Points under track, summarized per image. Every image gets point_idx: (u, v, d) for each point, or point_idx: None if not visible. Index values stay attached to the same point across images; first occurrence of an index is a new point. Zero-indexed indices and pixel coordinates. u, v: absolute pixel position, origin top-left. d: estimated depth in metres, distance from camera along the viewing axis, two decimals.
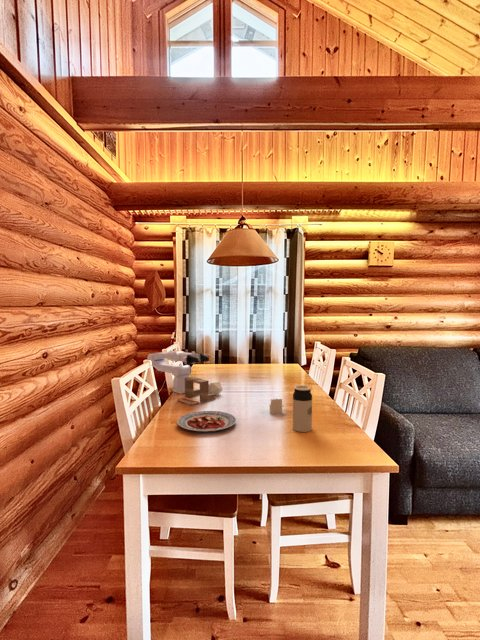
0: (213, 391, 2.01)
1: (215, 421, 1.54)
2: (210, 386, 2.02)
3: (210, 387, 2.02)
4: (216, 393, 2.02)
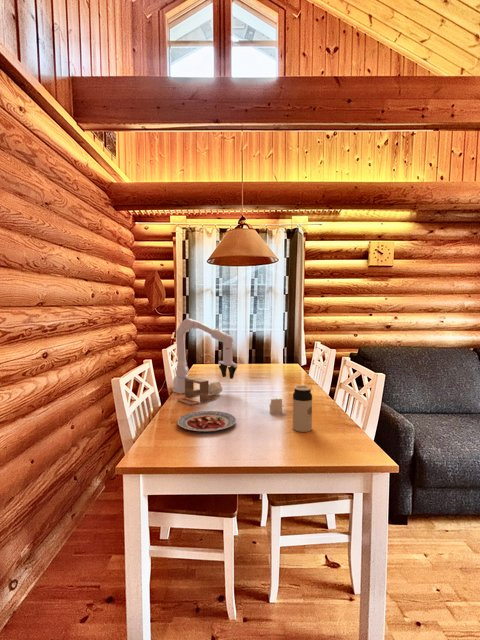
0: (213, 391, 2.01)
1: (215, 421, 1.54)
2: (210, 386, 2.02)
3: (210, 387, 2.02)
4: (216, 393, 2.02)
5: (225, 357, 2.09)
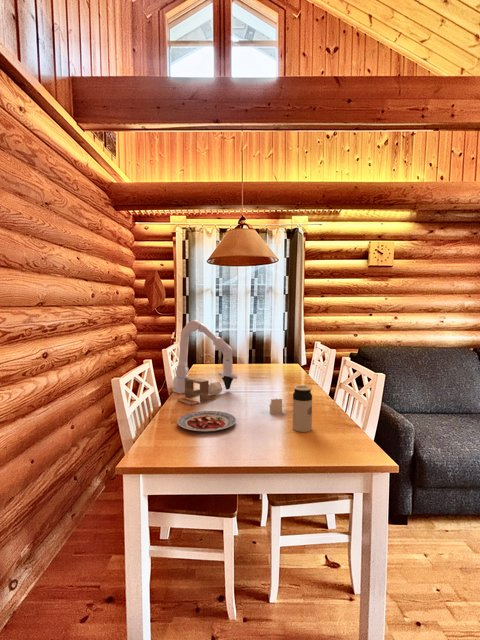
0: (213, 391, 2.01)
1: (215, 421, 1.54)
2: (210, 386, 2.02)
3: (210, 387, 2.02)
4: (216, 393, 2.02)
5: (225, 368, 2.09)
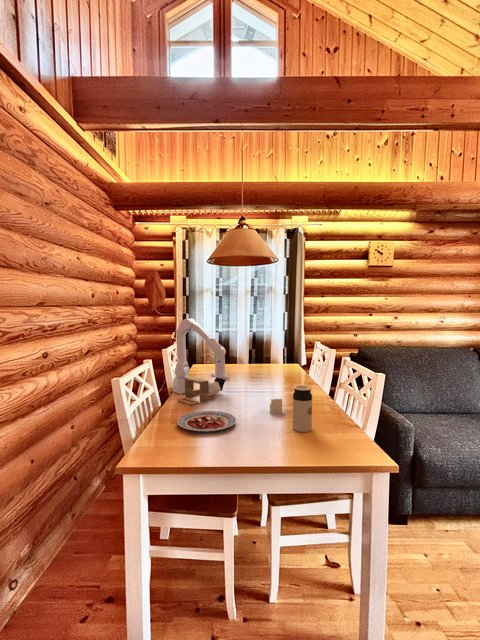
0: (212, 391, 2.00)
1: (215, 421, 1.54)
2: None
3: (209, 387, 2.01)
4: (215, 393, 2.01)
5: (217, 370, 2.05)
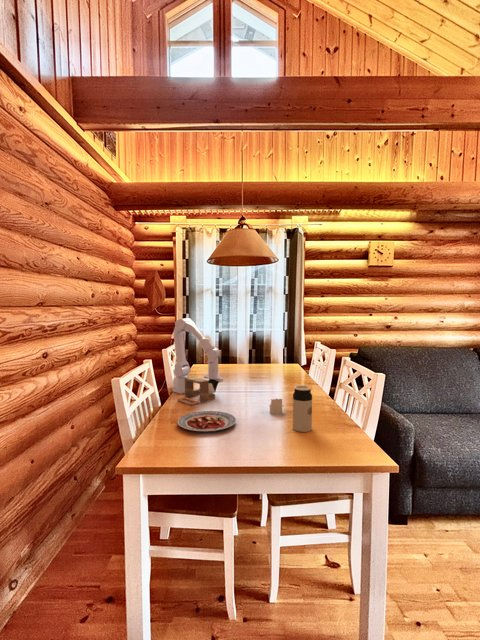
0: None
1: (215, 421, 1.54)
2: None
3: None
4: None
5: (210, 371, 2.01)
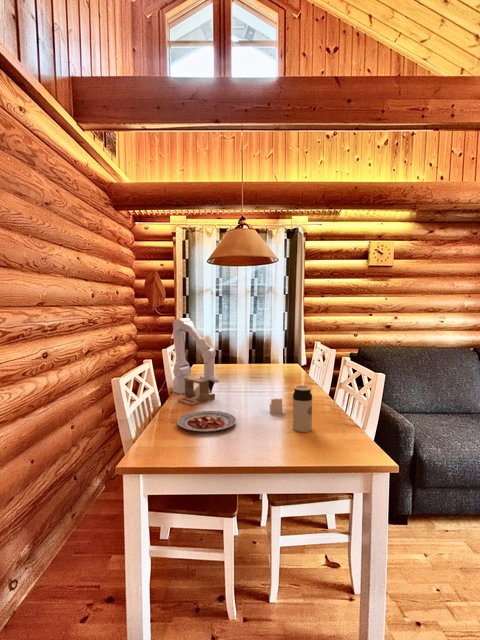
0: None
1: (215, 421, 1.54)
2: (198, 389, 1.95)
3: (198, 390, 1.94)
4: None
5: (206, 372, 1.99)
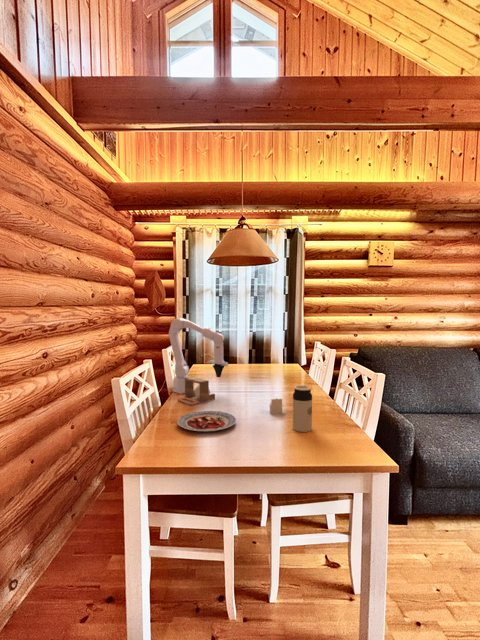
0: None
1: (215, 421, 1.54)
2: (198, 389, 1.95)
3: (198, 390, 1.94)
4: None
5: (216, 356, 2.06)
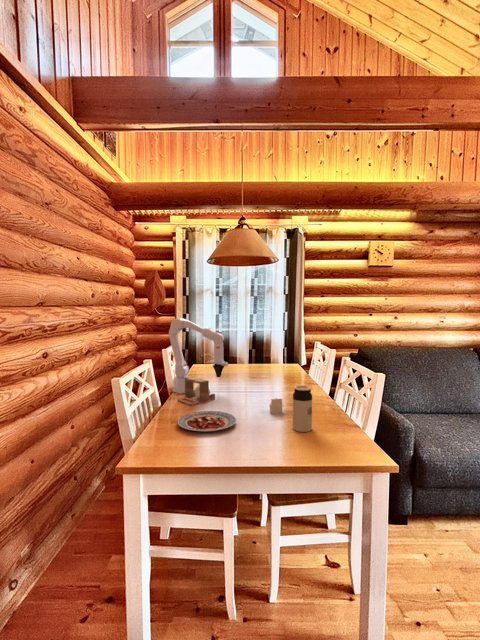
0: None
1: (215, 421, 1.54)
2: (198, 389, 1.95)
3: (198, 390, 1.94)
4: None
5: (216, 356, 2.06)
